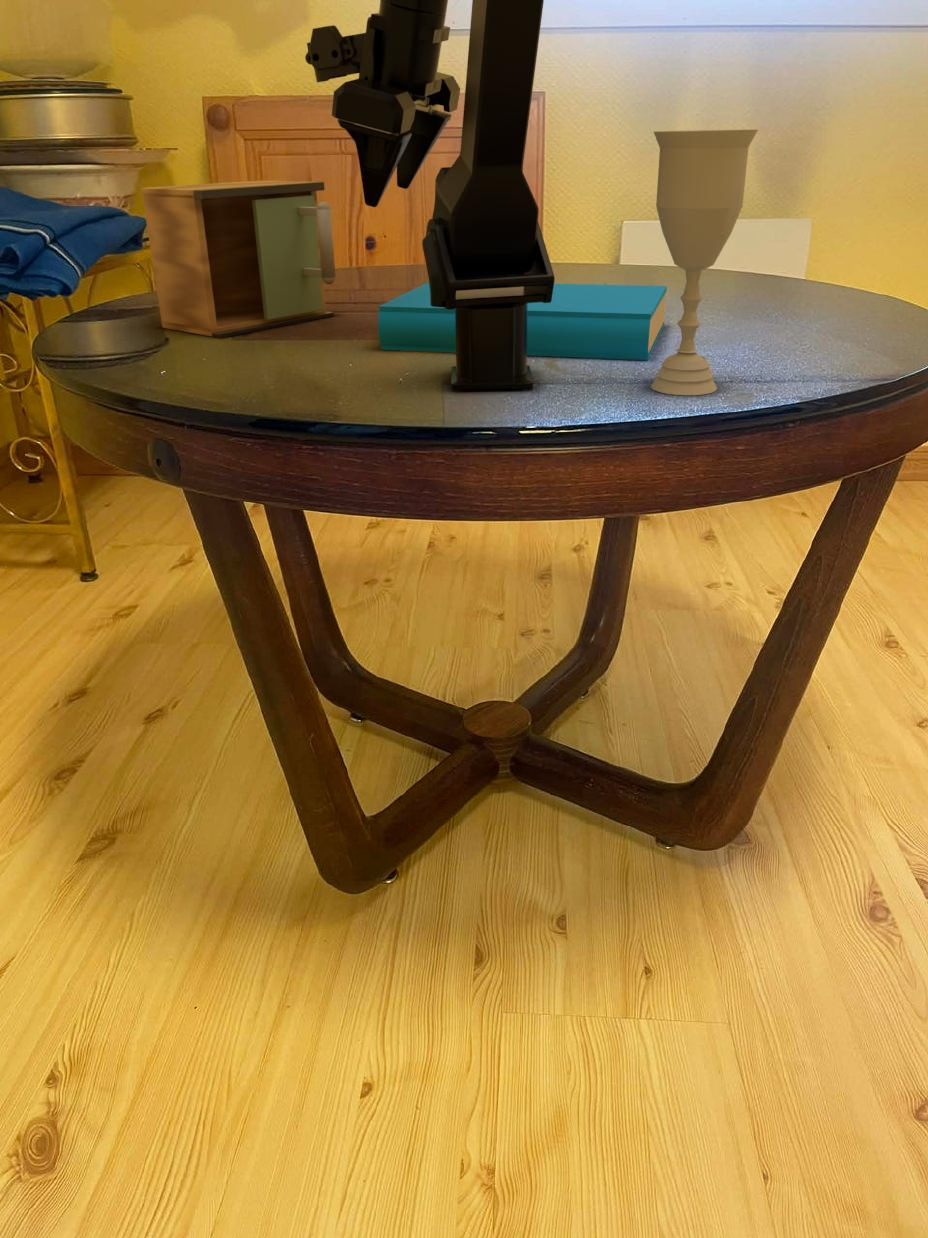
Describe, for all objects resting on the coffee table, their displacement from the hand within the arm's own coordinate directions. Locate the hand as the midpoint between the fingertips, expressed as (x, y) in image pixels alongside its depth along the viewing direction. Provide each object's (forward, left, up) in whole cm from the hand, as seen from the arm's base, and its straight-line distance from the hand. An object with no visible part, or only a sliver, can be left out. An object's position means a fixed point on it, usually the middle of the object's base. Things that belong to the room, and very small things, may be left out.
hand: (387, 196), depth 93 cm
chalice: (-25, -24, -13) cm, 37 cm away
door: (+6, +10, -12) cm, 16 cm away
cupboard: (+8, +17, -13) cm, 23 cm away
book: (-4, -13, -13) cm, 19 cm away
